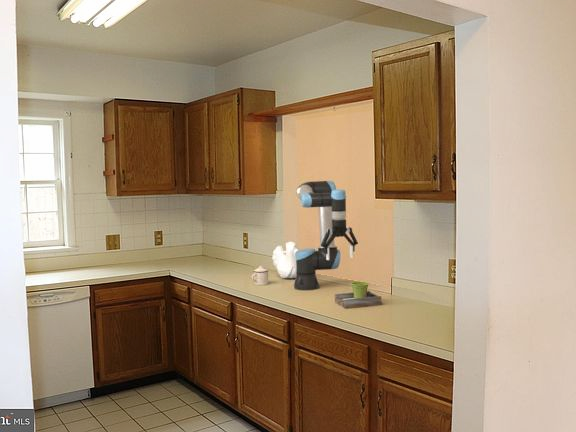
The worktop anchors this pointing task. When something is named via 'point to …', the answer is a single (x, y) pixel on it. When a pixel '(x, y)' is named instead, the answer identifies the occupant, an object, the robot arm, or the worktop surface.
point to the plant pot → (359, 289)
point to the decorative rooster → (286, 260)
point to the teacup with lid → (260, 276)
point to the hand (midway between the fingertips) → (339, 258)
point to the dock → (357, 300)
